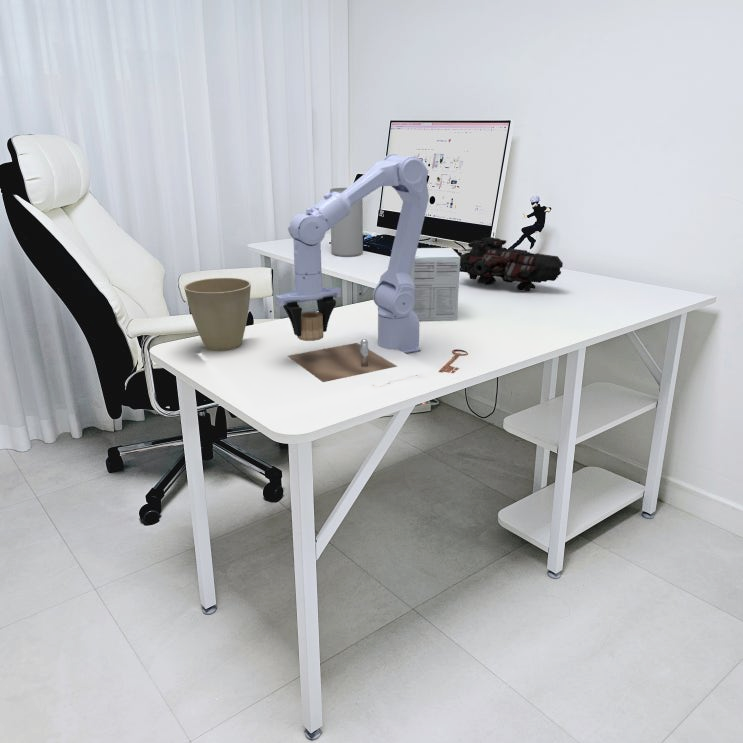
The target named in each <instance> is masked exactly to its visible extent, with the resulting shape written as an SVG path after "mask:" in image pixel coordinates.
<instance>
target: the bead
mask: <svg viewBox="0 0 743 743" xmlns="http://www.w3.org/2000/svg"><path fill="white" fill-rule="evenodd" d="M323 338H324V332H323V314H322V313H320V312H319V311H313V310H311V311H302V312H301V336H297V339H299V341H306V342H314V341H320V340H322V339H323Z"/></svg>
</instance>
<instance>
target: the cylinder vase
mask: <svg viewBox="0 0 743 743" xmlns="http://www.w3.org/2000/svg"><path fill="white" fill-rule="evenodd" d="M347 188H348V187H334V188H330V189H329V193H332V192H338V193H342V192H343V191H344V190H346V189H347ZM363 199H364V198H362V199H361V200H359V201H358V202H356V203H355V204H353V205H352V206H351V210H350V214H349V215H348V216H347V217H345V218H344V219H343V220H341V221H340V222H339V223H337V224H336V225H335V226H333V227H332V228H331V229H330V251H331V254H332V255H333V256H335V257H341V258H342V257H348V258H349V257H351V258H352V257H359V256H361V255H362V254H363V252H364V248H363V247H364V244H363V242H364V240H363V237H364V234H363V228H364V227H363V224H364V222H363V218H364V215H363V212H364V211H363V208H364V207H363V204H364V203H363Z"/></svg>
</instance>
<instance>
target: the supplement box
mask: <svg viewBox="0 0 743 743" xmlns="http://www.w3.org/2000/svg"><path fill="white" fill-rule="evenodd" d="M460 257H461V255H459V254H458V253H457V252H456V251H455V250H454V249H453V248H452V247H421V248H420V247H417V251H416V255H415V259H414V264H413V268H412V272H411V278H412V280H413V282H414V285H415V290H414V298H415V305H414V308H413V310H412V311H413V312H415V313H416V315H417V316H418V319H419V322H423V321H424V322H425V321H427V322H428V321H429V322H430V321H431V322H433V321H438V322H439V321H440V322H441V321H458V305H459V291H460V290H459V288H460V285H459V284H460V270H461V267H460Z"/></svg>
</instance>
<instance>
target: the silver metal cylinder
mask: <svg viewBox="0 0 743 743" xmlns="http://www.w3.org/2000/svg"><path fill="white" fill-rule="evenodd" d="M360 345H361V366H362V367H367V366H368V349H369V342H368V340H367V339H365V338H362V339H361V340H360Z"/></svg>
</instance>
